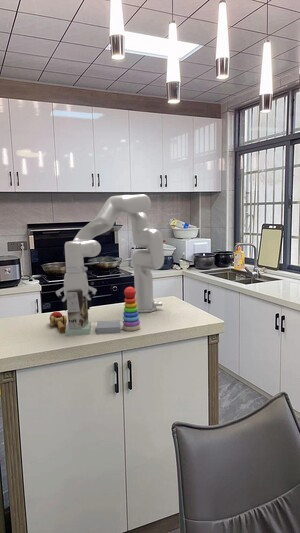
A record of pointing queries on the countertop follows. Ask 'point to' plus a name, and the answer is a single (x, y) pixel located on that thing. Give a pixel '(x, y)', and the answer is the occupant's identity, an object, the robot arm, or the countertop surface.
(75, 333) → the sage brick
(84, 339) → the countertop surface
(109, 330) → the grey brick
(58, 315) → the kendama
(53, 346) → the countertop surface
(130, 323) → the stacking toy
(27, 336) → the countertop surface
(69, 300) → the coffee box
